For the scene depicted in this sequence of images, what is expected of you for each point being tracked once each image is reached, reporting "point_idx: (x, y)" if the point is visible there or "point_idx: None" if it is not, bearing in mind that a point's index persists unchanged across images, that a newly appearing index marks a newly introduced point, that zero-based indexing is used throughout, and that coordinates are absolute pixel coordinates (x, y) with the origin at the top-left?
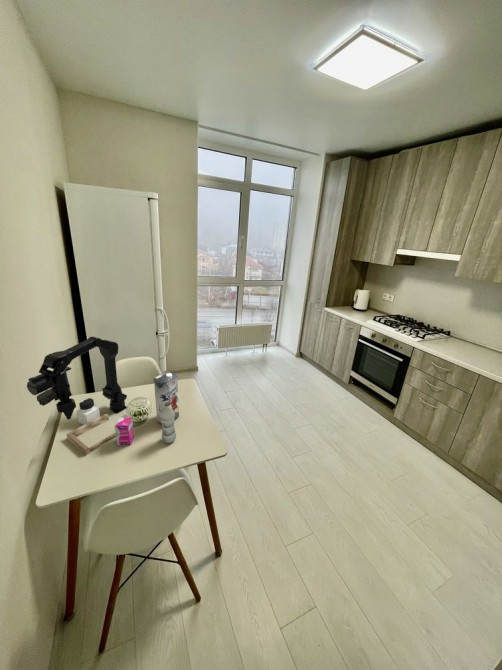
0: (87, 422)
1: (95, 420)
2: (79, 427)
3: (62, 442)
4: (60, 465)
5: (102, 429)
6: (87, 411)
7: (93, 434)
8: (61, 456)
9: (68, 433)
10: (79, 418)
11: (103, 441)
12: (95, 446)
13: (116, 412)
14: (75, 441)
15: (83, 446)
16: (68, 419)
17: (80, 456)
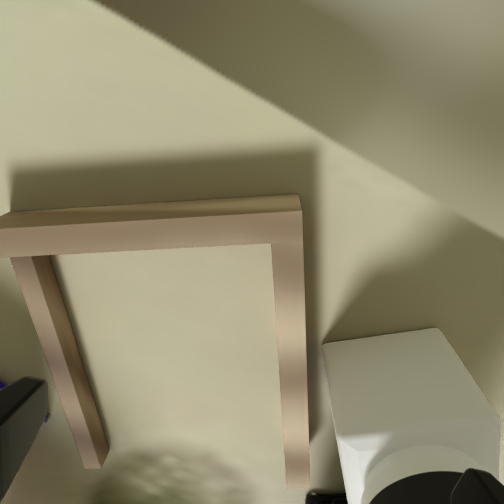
0: (325, 374)
1: (292, 417)
2: (303, 315)
3: (292, 151)
4: (9, 31)
5: (214, 385)
6: (373, 471)
7: (206, 331)
8: (117, 78)
9: (294, 226)
10: (428, 363)
11: (42, 344)
12: (23, 291)
13: (314, 502)
14: (132, 222)
15: (23, 238)
16: (27, 383)
17: (23, 180)
